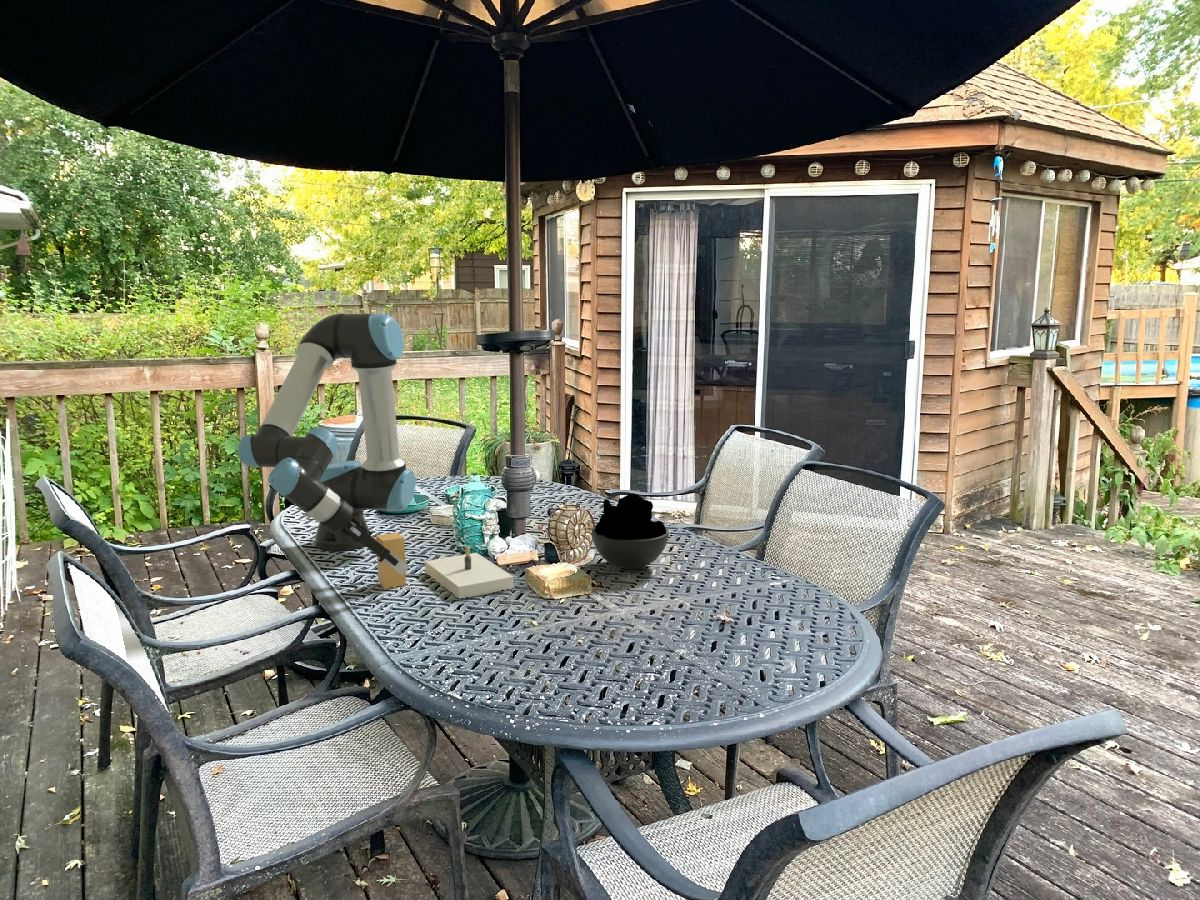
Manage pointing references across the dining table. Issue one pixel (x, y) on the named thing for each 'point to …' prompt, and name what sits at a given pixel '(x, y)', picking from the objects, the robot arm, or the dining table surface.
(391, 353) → the robot arm
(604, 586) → the dining table surface
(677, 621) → the dining table surface
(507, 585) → the plate
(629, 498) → the coal bowl
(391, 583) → the tan upright carton
